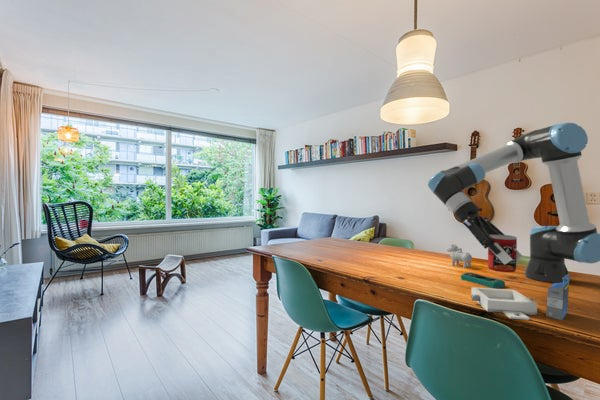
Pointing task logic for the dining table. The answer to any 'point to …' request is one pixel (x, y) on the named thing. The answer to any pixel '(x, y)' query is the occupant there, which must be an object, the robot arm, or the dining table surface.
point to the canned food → (509, 247)
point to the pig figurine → (459, 256)
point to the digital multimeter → (483, 280)
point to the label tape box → (558, 299)
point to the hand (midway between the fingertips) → (514, 260)
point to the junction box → (505, 302)
